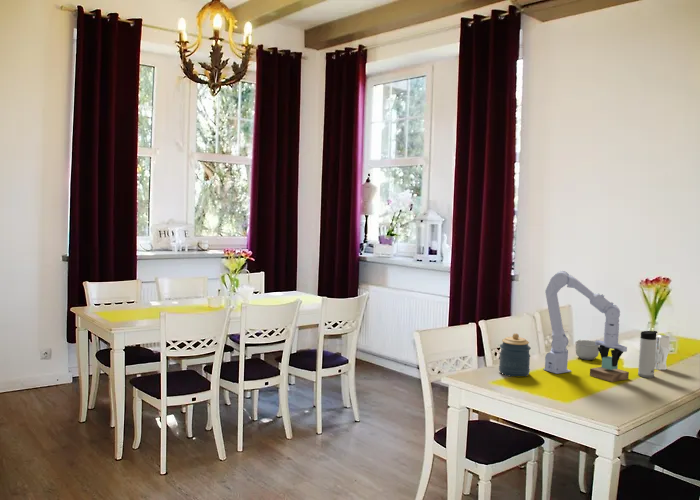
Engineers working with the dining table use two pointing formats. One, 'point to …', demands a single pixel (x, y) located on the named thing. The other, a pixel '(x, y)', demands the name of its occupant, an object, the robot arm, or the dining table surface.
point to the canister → (514, 356)
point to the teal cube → (608, 363)
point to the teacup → (586, 349)
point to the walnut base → (609, 374)
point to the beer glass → (661, 352)
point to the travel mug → (647, 354)
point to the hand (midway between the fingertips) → (609, 364)
